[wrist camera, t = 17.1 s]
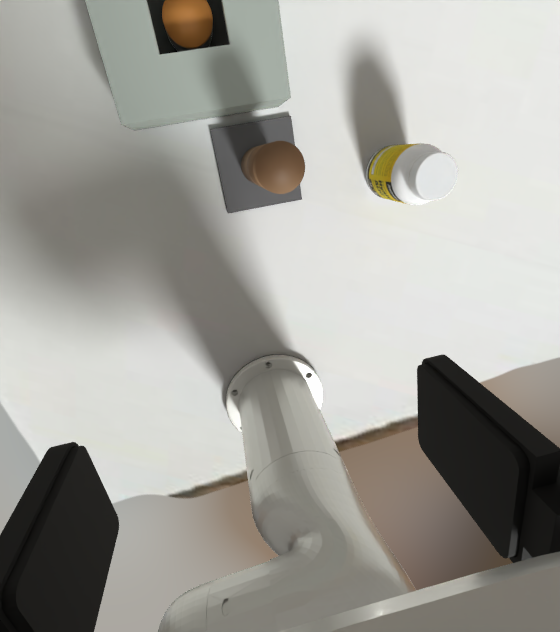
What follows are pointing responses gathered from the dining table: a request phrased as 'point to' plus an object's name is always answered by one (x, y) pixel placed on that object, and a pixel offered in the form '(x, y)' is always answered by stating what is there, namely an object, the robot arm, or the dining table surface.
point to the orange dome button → (188, 23)
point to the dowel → (274, 166)
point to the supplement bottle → (411, 173)
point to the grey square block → (191, 64)
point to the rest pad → (229, 156)
